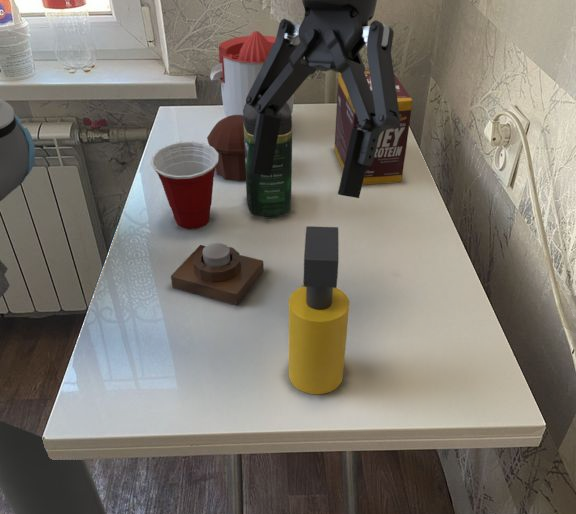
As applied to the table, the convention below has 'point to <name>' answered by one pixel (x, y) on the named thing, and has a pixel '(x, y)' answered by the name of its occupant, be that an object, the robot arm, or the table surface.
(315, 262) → the spray bottle
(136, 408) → the table surface
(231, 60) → the citrus juicer
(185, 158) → the plastic cup
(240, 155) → the muffin
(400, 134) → the supplement box
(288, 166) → the coffee jar
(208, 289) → the button box
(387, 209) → the table surface
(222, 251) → the button
